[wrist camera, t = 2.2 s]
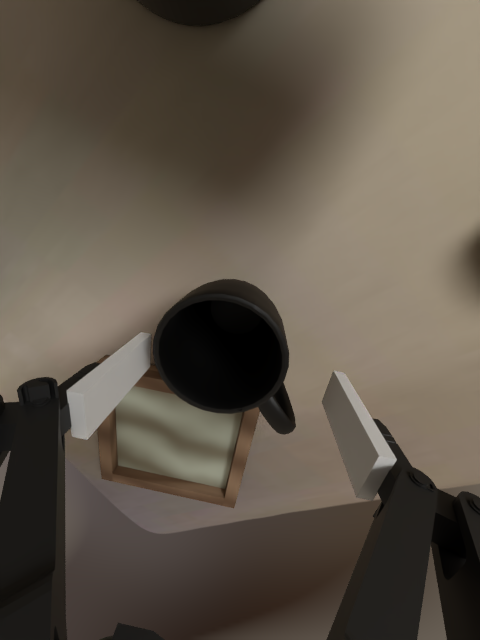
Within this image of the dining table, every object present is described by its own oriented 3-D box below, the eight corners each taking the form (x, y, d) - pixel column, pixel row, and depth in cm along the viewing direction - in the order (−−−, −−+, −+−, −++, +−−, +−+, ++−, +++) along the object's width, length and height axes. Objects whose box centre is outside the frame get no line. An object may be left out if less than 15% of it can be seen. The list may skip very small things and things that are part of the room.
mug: (246, 385, 25) (237, 467, 17) (179, 297, 22) (123, 340, 14) (314, 351, 23) (345, 425, 14) (248, 248, 20) (236, 261, 11)
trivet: (105, 354, 26) (92, 365, 24) (262, 387, 25) (262, 401, 23) (112, 463, 32) (101, 478, 30) (235, 490, 32) (234, 508, 30)
